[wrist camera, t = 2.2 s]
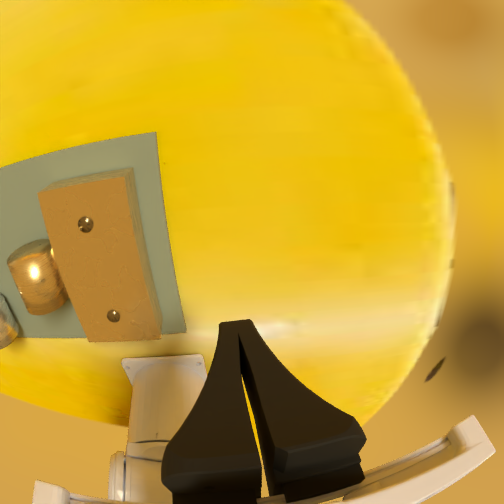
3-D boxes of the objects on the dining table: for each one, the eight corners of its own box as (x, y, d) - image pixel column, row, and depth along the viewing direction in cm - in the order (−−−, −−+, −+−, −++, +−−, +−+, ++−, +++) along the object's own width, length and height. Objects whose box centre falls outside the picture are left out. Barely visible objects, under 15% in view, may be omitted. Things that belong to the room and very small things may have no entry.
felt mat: (186, 329, 25) (186, 332, 24) (-29, 332, 21) (-30, 334, 21) (156, 131, 17) (155, 132, 17) (-81, 202, 13) (-83, 203, 13)
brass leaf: (163, 317, 23) (159, 353, 19) (55, 322, 21) (40, 354, 18) (133, 167, 17) (117, 183, 14) (9, 193, 16) (-21, 213, 12)
